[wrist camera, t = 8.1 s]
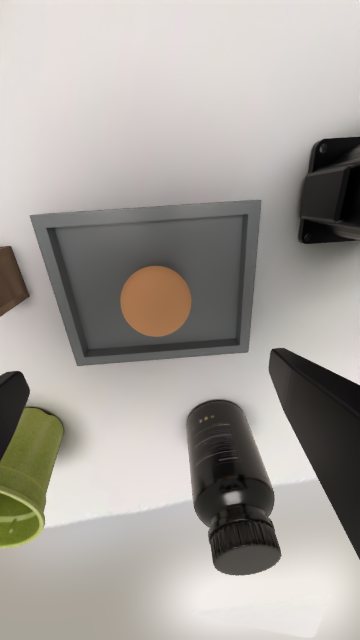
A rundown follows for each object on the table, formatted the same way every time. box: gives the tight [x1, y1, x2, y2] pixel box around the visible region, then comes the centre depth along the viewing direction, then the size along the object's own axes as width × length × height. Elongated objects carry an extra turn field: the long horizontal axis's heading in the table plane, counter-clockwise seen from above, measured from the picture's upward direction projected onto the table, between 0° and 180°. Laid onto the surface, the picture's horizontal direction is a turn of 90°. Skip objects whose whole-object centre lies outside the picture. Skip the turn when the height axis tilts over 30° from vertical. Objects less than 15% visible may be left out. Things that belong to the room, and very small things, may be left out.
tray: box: [30, 200, 261, 366], centre depth 19 cm, size 15×12×2 cm
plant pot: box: [0, 408, 64, 549], centre depth 22 cm, size 9×9×9 cm
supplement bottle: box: [187, 401, 281, 575], centre depth 22 cm, size 7×7×12 cm
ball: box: [120, 266, 192, 337], centre depth 17 cm, size 5×5×5 cm
